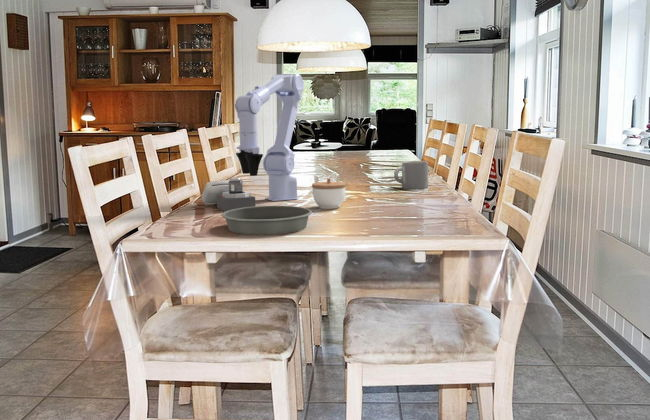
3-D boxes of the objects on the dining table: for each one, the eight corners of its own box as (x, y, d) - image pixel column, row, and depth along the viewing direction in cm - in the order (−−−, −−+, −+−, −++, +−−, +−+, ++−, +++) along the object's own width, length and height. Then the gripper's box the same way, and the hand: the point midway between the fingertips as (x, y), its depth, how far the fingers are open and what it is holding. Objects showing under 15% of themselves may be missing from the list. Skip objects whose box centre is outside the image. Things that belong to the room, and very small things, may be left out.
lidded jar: (307, 209, 226) (306, 180, 224) (319, 204, 236) (318, 176, 234) (339, 210, 222) (339, 180, 221) (350, 205, 232) (349, 177, 231)
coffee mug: (424, 185, 282) (424, 160, 280) (430, 188, 272) (430, 162, 270) (391, 186, 280) (391, 161, 279) (395, 189, 271) (395, 163, 269)
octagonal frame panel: (246, 205, 235) (246, 190, 235) (255, 209, 227) (255, 193, 227) (217, 208, 231) (216, 192, 230) (225, 211, 223) (224, 195, 222)
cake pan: (233, 220, 208) (233, 205, 208) (317, 220, 206) (317, 205, 205) (211, 236, 184) (211, 219, 183) (305, 236, 182) (305, 219, 181)
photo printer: (230, 191, 244) (236, 177, 232) (232, 202, 242) (238, 189, 231) (200, 193, 240) (205, 179, 229) (202, 205, 239) (207, 191, 228)
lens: (232, 195, 232) (231, 177, 231) (244, 195, 230) (244, 177, 229) (226, 197, 227) (226, 179, 226) (239, 197, 226) (238, 179, 225)
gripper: (229, 132, 236) (231, 173, 238) (243, 134, 223) (245, 177, 225) (250, 131, 239) (251, 172, 241) (265, 133, 226) (266, 176, 228)
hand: (249, 174), depth 233 cm, fingers open, 7 cm apart
